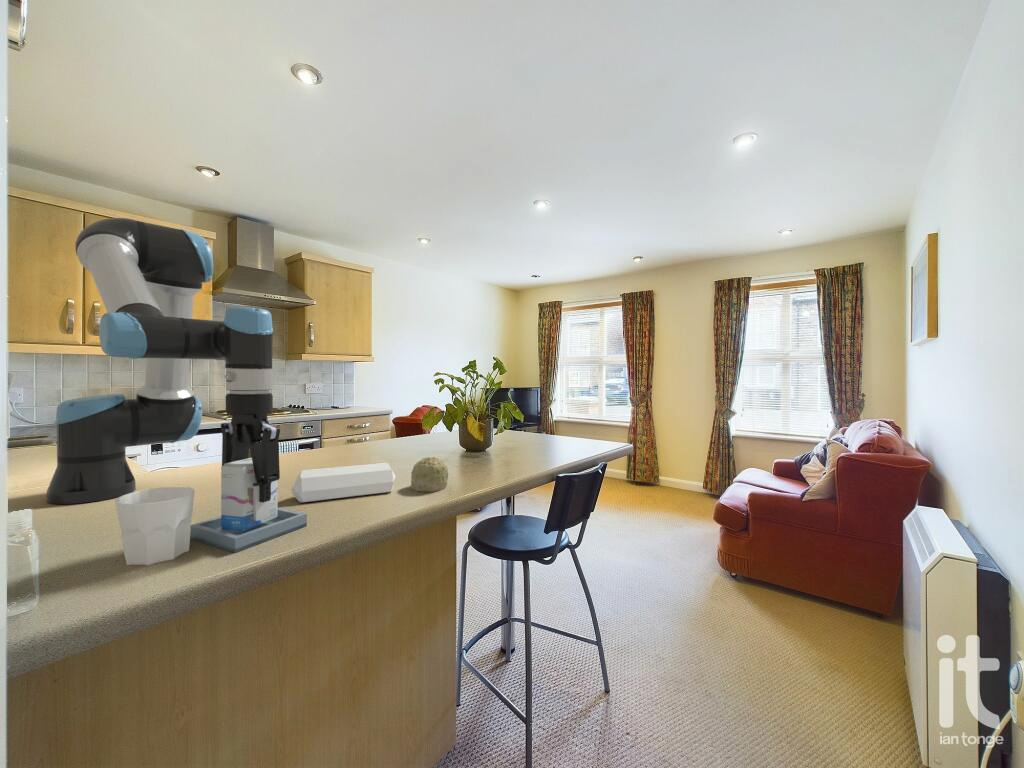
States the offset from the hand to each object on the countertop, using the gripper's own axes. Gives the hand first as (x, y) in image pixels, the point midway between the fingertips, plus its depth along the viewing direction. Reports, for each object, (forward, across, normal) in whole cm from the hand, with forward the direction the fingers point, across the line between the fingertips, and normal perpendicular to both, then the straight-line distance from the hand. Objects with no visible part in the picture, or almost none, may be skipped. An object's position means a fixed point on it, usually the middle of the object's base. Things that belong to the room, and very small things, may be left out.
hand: (250, 515), depth 82 cm
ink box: (+2, 0, 0) cm, 2 cm away
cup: (+3, -4, -13) cm, 14 cm away
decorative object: (+3, +11, +41) cm, 43 cm away
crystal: (+4, -3, +26) cm, 27 cm away
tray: (+3, 0, 0) cm, 3 cm away
